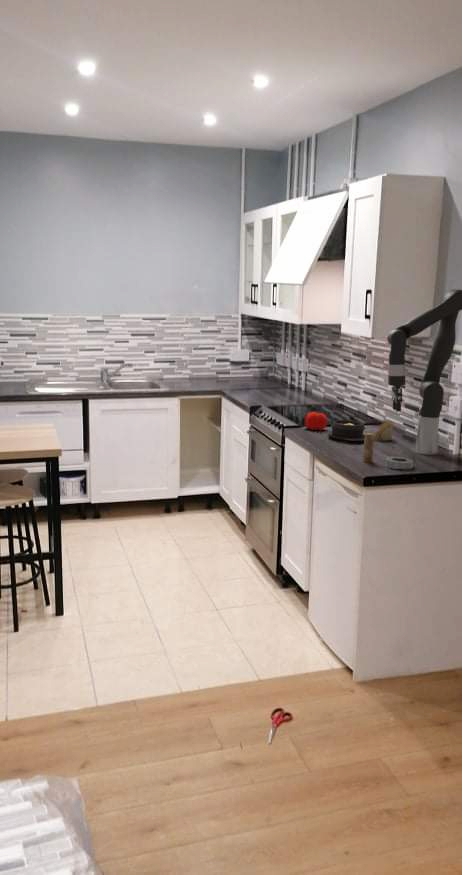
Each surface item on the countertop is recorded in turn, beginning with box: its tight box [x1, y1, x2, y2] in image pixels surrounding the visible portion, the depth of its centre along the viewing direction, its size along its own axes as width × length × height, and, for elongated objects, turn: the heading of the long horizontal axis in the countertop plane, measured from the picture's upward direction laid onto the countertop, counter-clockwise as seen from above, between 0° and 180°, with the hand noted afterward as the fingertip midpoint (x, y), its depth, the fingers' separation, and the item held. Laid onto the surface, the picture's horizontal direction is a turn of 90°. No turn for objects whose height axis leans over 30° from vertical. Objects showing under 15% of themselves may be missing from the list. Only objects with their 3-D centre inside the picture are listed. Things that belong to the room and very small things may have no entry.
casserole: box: [327, 419, 366, 442], centre depth 370 cm, size 25×19×8 cm
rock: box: [374, 420, 394, 442], centre depth 372 cm, size 11×9×10 cm
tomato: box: [304, 411, 328, 431], centre depth 391 cm, size 11×12×9 cm
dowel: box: [362, 432, 375, 463], centre depth 323 cm, size 4×4×12 cm
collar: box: [384, 456, 414, 471], centre depth 317 cm, size 11×11×3 cm
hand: (396, 410), depth 338 cm, fingers open, 8 cm apart
